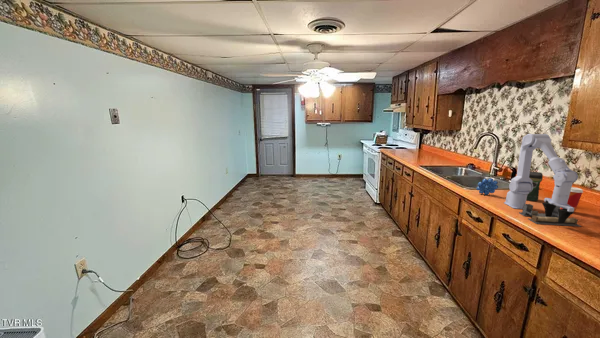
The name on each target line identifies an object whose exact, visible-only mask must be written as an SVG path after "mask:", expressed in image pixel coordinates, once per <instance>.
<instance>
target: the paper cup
mask: <svg viewBox="0 0 600 338" xmlns="http://www.w3.org/2000/svg"><path fill="white" fill-rule="evenodd" d="M583 193H584V190H583V189H582V188H579V187H573V186H572V187H571V191H570V195H569V198H568V202H567V204H568V205H570V206H571V207H573V208H574V213H573V214H575V213H576V211H577V207H578V206H579V202H580V201H581V197H582V194H583ZM560 209H563V208H561V207H560Z"/></svg>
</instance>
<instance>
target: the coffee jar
mask: <svg viewBox="0 0 600 338" xmlns="http://www.w3.org/2000/svg"><path fill="white" fill-rule="evenodd" d="M543 177H544V176H543V173H542V172H538V171H533V170H532V171H531V170H530V174H529V178H530V179H531V180H532V184H533V190H532V191H531V192H529V194H528V195H527V199H526V201H530V202H536V201H538V200H539V197H540V196H539V195H540V185H541V182H542V181H543Z"/></svg>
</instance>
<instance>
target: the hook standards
mask: <svg viewBox="0 0 600 338" xmlns="http://www.w3.org/2000/svg"><path fill="white" fill-rule="evenodd" d="M533 209H534V205H533V204H531V203H526V204H524V206H523V209H522V211H519V212H518V214H520V215H521V216H523V217H531V218H532V216H533V215H535V216H538V217H546V216H545V213H542V212H541V213H539V211H538V210H533ZM558 209H561V207H558V206H556V207H555V209H554V210H553V213H552V216H551V217H556V218H559V212H558Z"/></svg>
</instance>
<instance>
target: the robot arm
mask: <svg viewBox="0 0 600 338" xmlns="http://www.w3.org/2000/svg"><path fill="white" fill-rule="evenodd" d="M537 148H538V149H540V150H541V151H542V152H543V153H544V155H545V156H546V158H547V159H548V160H549V161H548V162H547V165H548V166H549V167H550V169H551V170H552V172H553V176H552V177H553V180H554V182H553V183H554V187H553V191H552V194H551V197H544V199H543V201H544V202H542V206H543V208H544V214H545V216H546V217H551V216H552V213H553V210H554V209H555V207H556V206H558V207H560V209H558V212H559V218H558V222H559V223H564V222H565V221H566V219H567V218H570V216H572V215H573V214H575V213H574V208H573V207H571V206H570V205H568V204H567V202H568V198H569V195H570V191H571V187H573V184H574V183H575V182H576V181H578V179H579V176H578V173H577V172H576V171H574V170H572V168H570V167H569V166H568V164H567V163H566V160H565V159H563V158H562V157H559V155H558V154H557V152H556V151H555V149H554V146H553V144H552V139H551V137H550V136H549V134H547V133H527V134H525V135H524V136H523V137H522V140H521V145H520V148H519V156H518V161H517V163H518V164H517V170H516V176H514V177H512V178H511V179H510V180H511V181H510V183H509V185H508V189H509V191H507V193H506V198H505V201H504V202H503V204H504V205H507V206H509V207H510V208H512V209H517V210H518V209H519V210H523V206H524V204H527V200H526V199H527V195H528V194H529V192H531V191H532V190H533V184H532V180H531V179H530V178H529V174H530V171H531V166H532V159H533V151H534V150H536V149H537ZM561 208H563V209H561Z"/></svg>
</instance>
